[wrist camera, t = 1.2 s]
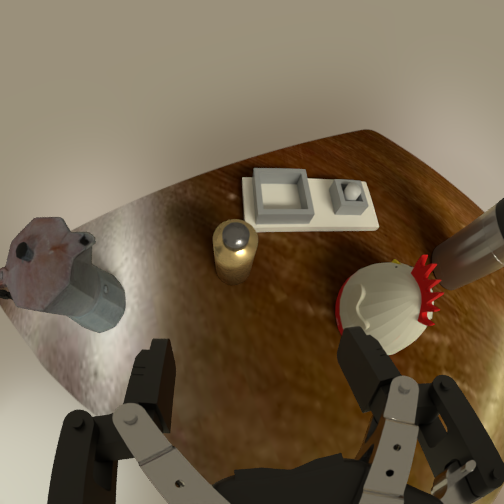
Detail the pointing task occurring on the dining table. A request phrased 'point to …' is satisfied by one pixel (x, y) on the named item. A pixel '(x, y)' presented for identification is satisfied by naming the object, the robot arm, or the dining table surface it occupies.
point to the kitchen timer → (389, 302)
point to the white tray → (305, 202)
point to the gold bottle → (234, 250)
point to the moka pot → (61, 276)
